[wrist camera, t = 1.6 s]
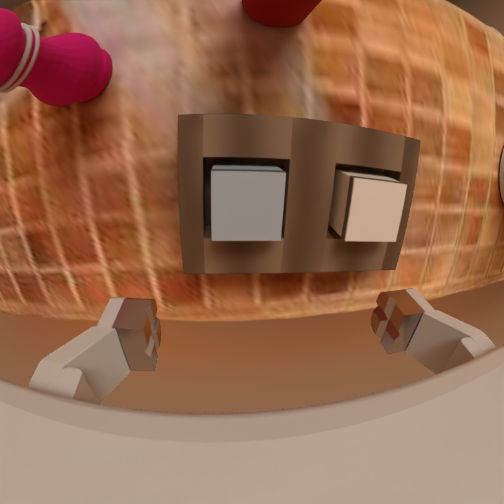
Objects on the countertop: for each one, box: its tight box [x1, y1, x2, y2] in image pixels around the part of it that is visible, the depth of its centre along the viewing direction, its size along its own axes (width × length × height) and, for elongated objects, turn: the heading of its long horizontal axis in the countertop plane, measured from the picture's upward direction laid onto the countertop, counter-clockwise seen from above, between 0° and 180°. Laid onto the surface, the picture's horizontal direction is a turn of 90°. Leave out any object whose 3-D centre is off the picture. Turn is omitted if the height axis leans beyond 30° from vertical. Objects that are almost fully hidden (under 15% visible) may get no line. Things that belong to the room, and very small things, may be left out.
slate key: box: [211, 163, 286, 241], centre depth 23 cm, size 6×6×5 cm
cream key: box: [328, 168, 407, 242], centre depth 24 cm, size 6×6×5 cm
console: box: [178, 114, 420, 274], centre depth 25 cm, size 22×14×5 cm, turn 88°
